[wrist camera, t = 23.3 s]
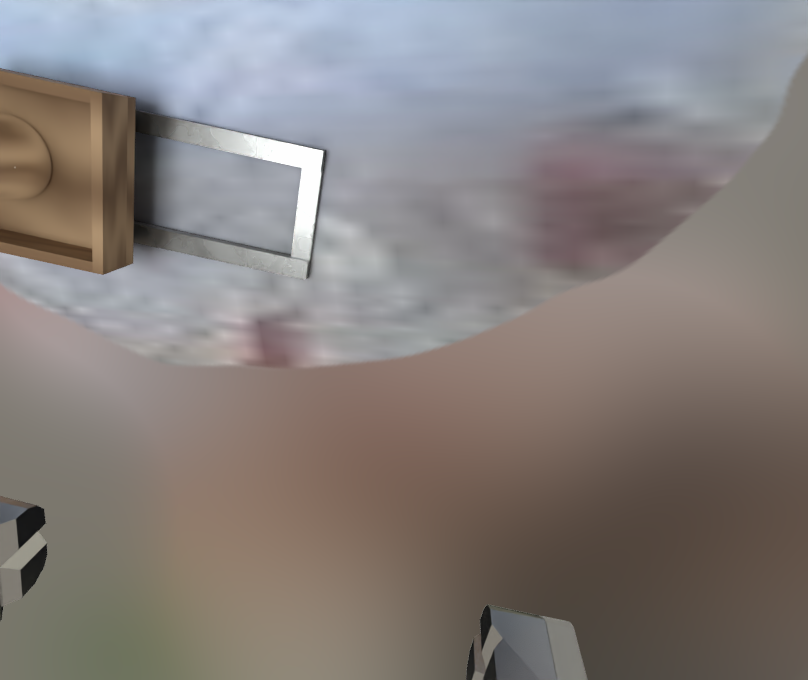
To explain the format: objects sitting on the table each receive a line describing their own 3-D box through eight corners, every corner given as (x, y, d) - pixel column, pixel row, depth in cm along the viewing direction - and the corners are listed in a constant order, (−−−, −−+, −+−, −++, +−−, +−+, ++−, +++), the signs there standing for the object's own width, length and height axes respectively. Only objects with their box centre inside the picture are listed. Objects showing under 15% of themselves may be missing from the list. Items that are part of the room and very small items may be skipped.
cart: (-8, 65, 41) (-83, 52, 35) (151, 100, 41) (101, 93, 35) (4, 226, 46) (-61, 238, 40) (147, 257, 45) (103, 274, 40)
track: (-6, 78, 43) (-26, 75, 41) (326, 150, 42) (320, 151, 41) (4, 210, 46) (-15, 213, 45) (308, 277, 46) (302, 282, 44)
